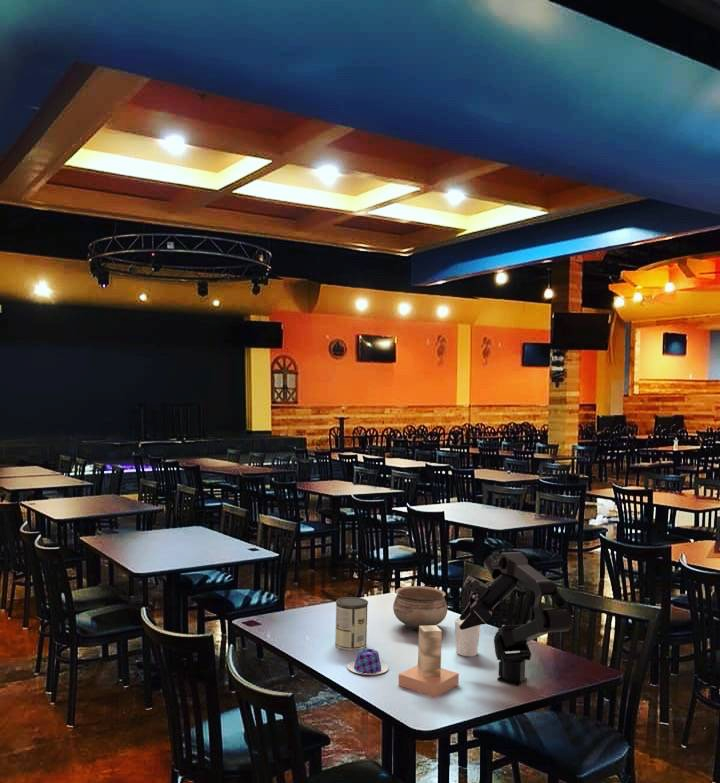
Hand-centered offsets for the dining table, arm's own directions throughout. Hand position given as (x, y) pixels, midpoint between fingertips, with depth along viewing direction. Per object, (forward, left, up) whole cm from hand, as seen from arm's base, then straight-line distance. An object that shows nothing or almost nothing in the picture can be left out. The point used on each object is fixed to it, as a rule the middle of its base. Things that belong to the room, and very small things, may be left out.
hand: (460, 623), depth 206 cm
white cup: (+6, -15, -14) cm, 21 cm away
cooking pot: (+31, -26, -14) cm, 42 cm away
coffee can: (+37, +5, -14) cm, 40 cm away
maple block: (+1, +15, -11) cm, 19 cm away
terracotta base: (+1, +15, -14) cm, 21 cm away
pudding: (+20, +17, -14) cm, 30 cm away
